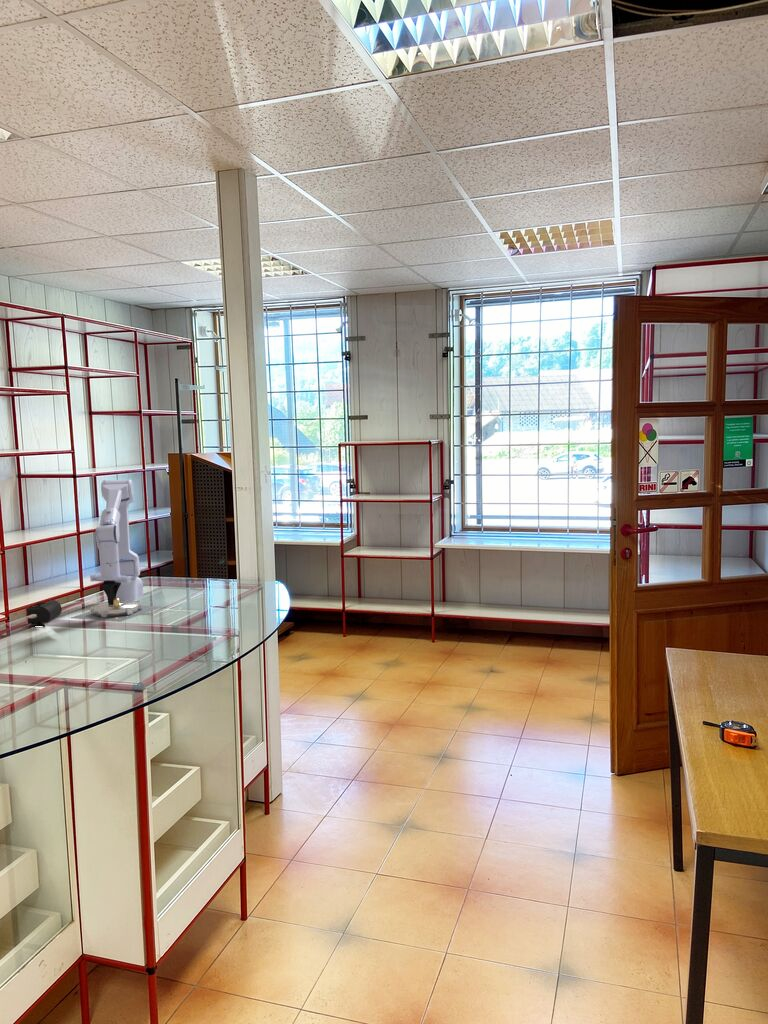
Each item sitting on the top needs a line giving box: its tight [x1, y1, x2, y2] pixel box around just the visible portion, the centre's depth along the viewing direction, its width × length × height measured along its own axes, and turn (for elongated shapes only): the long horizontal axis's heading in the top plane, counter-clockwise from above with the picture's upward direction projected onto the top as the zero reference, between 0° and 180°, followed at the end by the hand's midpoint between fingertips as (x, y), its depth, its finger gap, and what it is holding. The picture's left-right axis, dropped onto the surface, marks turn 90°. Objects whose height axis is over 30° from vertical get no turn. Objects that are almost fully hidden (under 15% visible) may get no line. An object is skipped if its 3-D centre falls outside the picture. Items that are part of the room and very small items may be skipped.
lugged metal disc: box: [90, 598, 143, 617], centre depth 236 cm, size 14×16×5 cm
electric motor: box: [26, 599, 63, 628], centre depth 230 cm, size 10×7×7 cm
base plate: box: [70, 605, 161, 622], centre depth 237 cm, size 20×20×2 cm
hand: (112, 604), depth 231 cm, fingers closed, pressing on lugged metal disc
